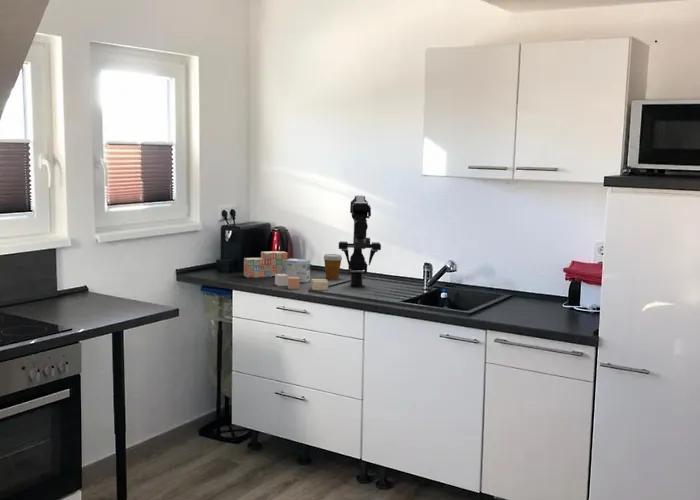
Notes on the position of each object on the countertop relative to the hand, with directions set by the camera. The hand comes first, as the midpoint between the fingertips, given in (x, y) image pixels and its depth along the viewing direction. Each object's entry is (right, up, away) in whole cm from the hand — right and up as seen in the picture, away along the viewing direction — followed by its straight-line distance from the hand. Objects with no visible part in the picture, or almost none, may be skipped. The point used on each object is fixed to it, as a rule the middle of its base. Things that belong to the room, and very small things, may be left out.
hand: (359, 264), depth 343 cm
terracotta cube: (-30, -11, +16) cm, 36 cm away
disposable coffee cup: (-13, -8, +45) cm, 48 cm away
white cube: (-37, -10, +23) cm, 45 cm away
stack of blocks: (-47, -7, +48) cm, 67 cm away
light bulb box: (-30, -9, +36) cm, 47 cm away
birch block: (-18, -12, +16) cm, 27 cm away
